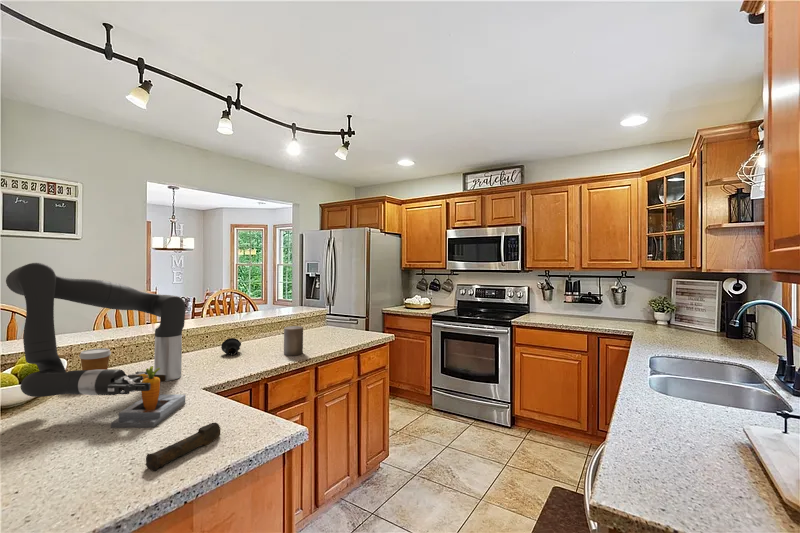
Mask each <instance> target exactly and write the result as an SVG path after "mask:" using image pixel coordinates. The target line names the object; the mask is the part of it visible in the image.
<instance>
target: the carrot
mask: <svg viewBox="0 0 800 533" xmlns="http://www.w3.org/2000/svg"><path fill="white" fill-rule="evenodd" d="M158 370H160V368H158V369H156V370H155V371H154V365H151V366H150V367H149V368H146V369H145V372H147V374H148V378H145V379H144V380H143V381H142V380H141V382H142V383H150V384H151V389H150V390H149V391H141V399H142V400H143V404H144V407H145V409H146V410H155V408H156V405H157V402H158V398H159V394H160V391H161V382H160V378H158V377H154V375H155V373H156V372H157V371H158Z"/></svg>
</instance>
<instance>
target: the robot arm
mask: <svg viewBox="0 0 800 533" xmlns="http://www.w3.org/2000/svg"><path fill="white" fill-rule="evenodd" d="M5 283H6V286H7V288H8V289H9V290H10V291H11V292H13V293H15V294H17V295H20V296H23V297H24V300H25V305H26V306H25V307H26V312H25V314H26V315H25V320H24V321H25V322H24V326H23V332H22V333H23V336H22V337H23V338H22V340H23V350H24V351H23V352H24V358H25V362H26V363H28V364H31V365H36V366H37V368H38V370H39V371H36V372H32V373H30V374H28V375H27V376H25V377H24V378H23V379H22V381H21V383H20V387H19V388H20V390H21V392H22V393H23V394H24V395H26V396H28V397H32V398H44V397H53V396H60V395H88V396H116V395H130V393H136V392H142V391H149V390H150V389H151V384H150V383H142V381H143V380H144V379H145V378H148V374H147V372H146V371H136V372H134V373H130V374H128V375H127V374H126V372H125V371H124V370H123V369H118V368H117V369H114V368H113V369H108V368H107V369H96V370H82V369H78V370H77V369H75V370H69V371H67V370H66V368H65V366H64V364H63V362H62V360H61V358H60V356H59V354H58V346H57V339H56V330H55V314H54V312H55V310H54V308H55V307H54V305H55V300H56V299H58V300H65V301H69V302H73V303H76V304H83V305H87V306H92V307H98V308H103V309H110V310H118V311H119V310H120V311H137V312H140V313H141V312H143V313H146V314H149V315H153V316H156V317H159V318H160V322H159V326H158V327H156V329H155V330H154V355H153V356H154V357H153V358H154V361H153V362H154V363H153V364H154V365H153V371H155V370H156V369H158V368H160V370H158V371H157V372H156V373H155V375H154V377H158V378H160V383H163V382H169V381H174V380H178V379H180V378H181V377H182V363H183V362H182V357H183V353H182V348H183V347H182V343H183V342H182V341H183V340H182V337H183V329H184V327H185V321H186V320H185V319H186V303H185V301H184V299H183V298H182V297H181V296H178V295H171V294H158V293H150V292H144V291H140V290H138V289H135V288H133V287H130V286H127V285H124V284H121V283H117V282H112V281H107V280H104V279H103V280H101V279H89V278H70V277H64V276H60V275H56V273H55V271H54V268H52V267H51V266H49V265H48V264H46V263H42V262H31V263H27V264H24V265H22V266H20V267H18V268H15V269H13V270H12V271H10V273H9V274H7V276H6V278H5Z"/></svg>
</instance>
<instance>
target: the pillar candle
mask: <svg viewBox="0 0 800 533" xmlns="http://www.w3.org/2000/svg"><path fill="white" fill-rule="evenodd" d="M303 348H304V327H303V326H301V325H291V326H285V327H283V355H284V356H287V357H289V356H300V355H301V356H302V355H303V353H304V351H303Z"/></svg>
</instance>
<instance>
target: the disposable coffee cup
mask: <svg viewBox="0 0 800 533" xmlns="http://www.w3.org/2000/svg"><path fill="white" fill-rule="evenodd" d="M111 354H112V352H111V350H110V348H106V347H103V348H99V347H98V348H91V349H86V350H82V351H80V354H79V355H78V357H79V359H80V362H81V370H96V369H108V368H109V363H110V362H109V361H110V356H111Z"/></svg>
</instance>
